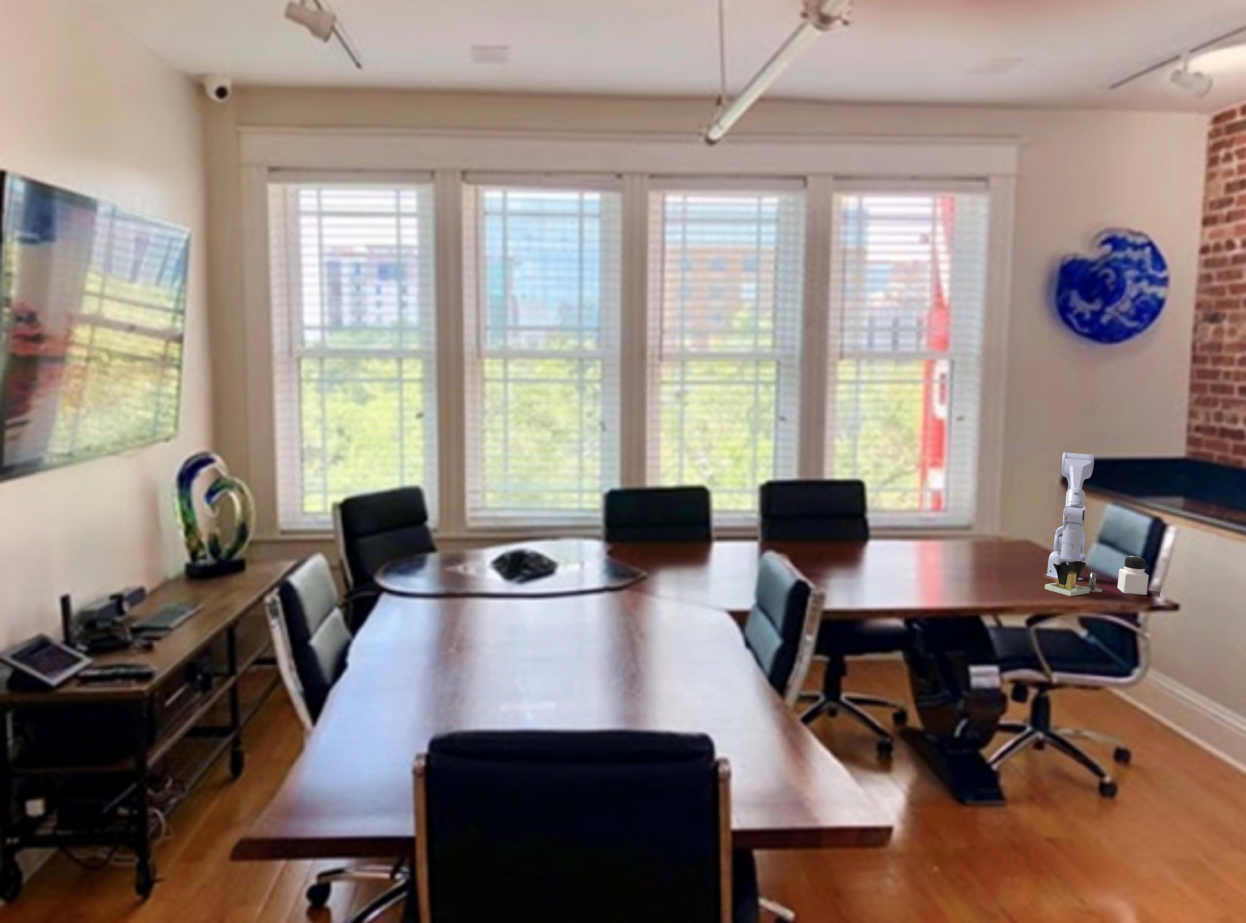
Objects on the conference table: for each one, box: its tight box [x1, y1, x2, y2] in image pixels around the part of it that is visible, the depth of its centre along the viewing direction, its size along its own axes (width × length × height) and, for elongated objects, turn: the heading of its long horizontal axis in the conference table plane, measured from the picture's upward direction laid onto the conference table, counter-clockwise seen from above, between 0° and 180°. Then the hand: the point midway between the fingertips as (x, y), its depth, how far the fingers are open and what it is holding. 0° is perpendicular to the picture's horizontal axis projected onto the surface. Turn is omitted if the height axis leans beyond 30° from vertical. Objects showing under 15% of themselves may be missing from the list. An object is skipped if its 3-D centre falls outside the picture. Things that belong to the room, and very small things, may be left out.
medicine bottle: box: [1117, 555, 1150, 596], centre depth 319 cm, size 7×7×12 cm
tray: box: [1044, 582, 1091, 597], centre depth 318 cm, size 10×10×2 cm
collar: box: [1055, 571, 1077, 589], centre depth 318 cm, size 5×6×5 cm
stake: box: [1084, 572, 1103, 593], centre depth 321 cm, size 6×6×6 cm
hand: (1067, 583), depth 317 cm, fingers closed on collar, 5 cm apart
